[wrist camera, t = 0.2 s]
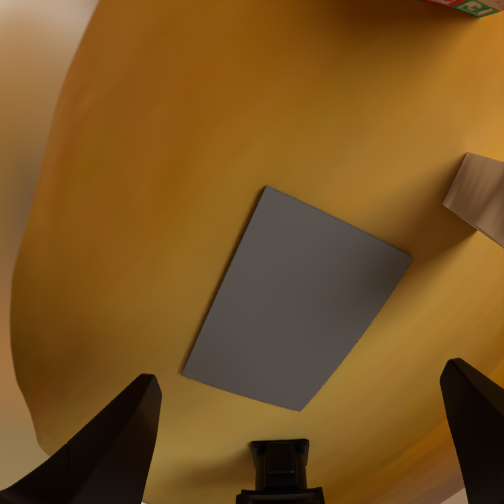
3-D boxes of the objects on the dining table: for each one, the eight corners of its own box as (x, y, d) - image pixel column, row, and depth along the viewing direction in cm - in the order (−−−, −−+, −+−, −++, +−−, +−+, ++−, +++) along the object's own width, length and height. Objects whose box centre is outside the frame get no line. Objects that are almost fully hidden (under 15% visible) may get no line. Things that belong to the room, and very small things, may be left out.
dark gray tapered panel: (299, 407, 29) (300, 411, 28) (182, 370, 27) (181, 375, 27) (410, 255, 22) (413, 258, 22) (266, 185, 21) (266, 187, 20)
